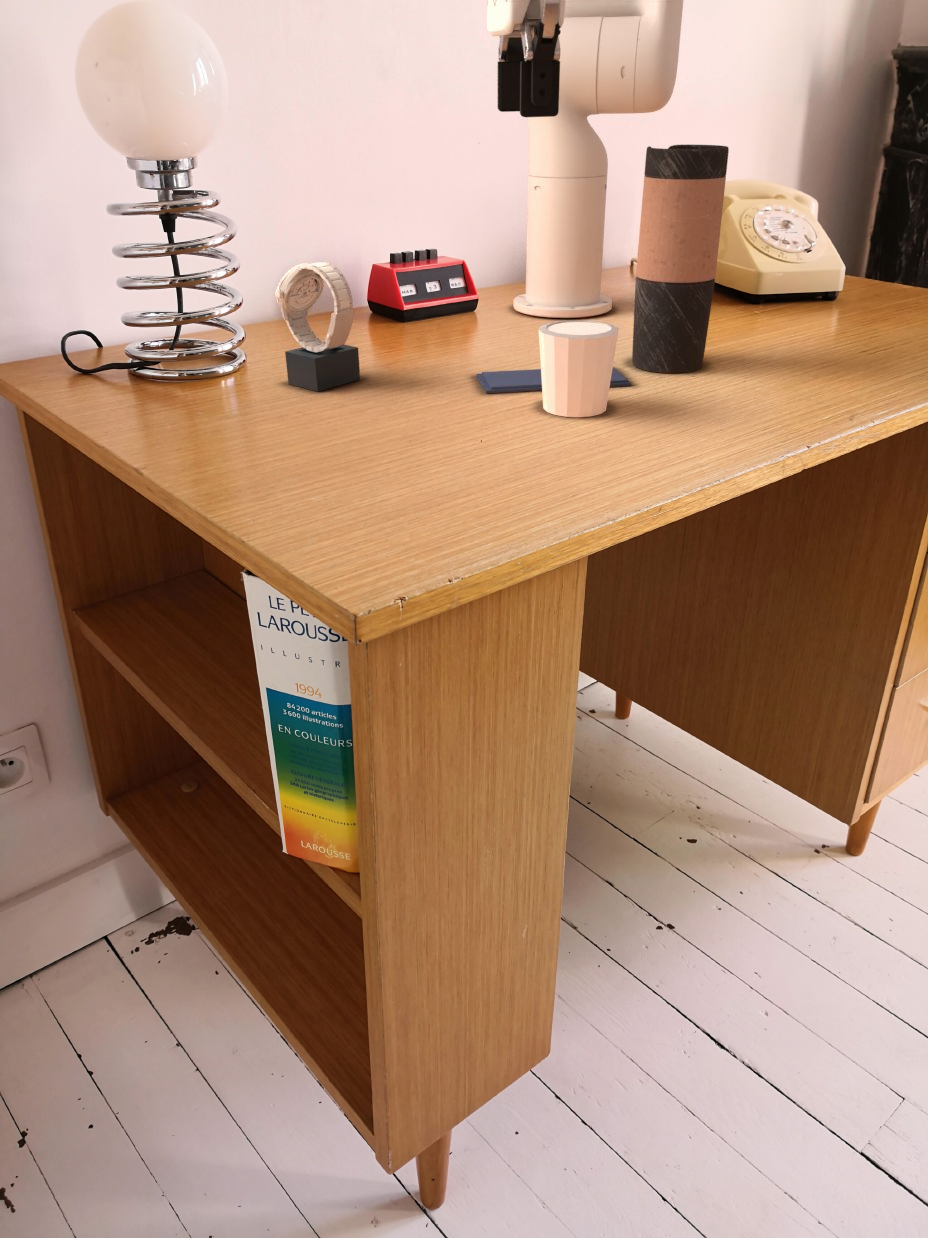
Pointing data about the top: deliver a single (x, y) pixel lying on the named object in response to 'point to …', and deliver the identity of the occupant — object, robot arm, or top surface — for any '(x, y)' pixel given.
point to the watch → (315, 359)
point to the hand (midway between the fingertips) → (526, 113)
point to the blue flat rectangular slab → (527, 380)
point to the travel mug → (677, 255)
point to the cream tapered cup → (576, 366)
